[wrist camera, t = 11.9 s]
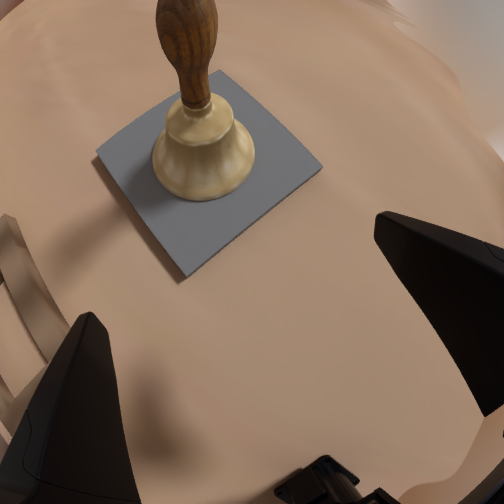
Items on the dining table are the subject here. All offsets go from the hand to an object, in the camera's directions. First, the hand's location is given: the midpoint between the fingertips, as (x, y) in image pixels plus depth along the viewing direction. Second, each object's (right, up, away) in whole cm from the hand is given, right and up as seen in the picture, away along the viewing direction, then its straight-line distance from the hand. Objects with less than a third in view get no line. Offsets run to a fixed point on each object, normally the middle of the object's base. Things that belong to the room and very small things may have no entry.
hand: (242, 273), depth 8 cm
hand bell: (-4, +8, +13) cm, 16 cm away
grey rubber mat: (-4, +8, +14) cm, 17 cm away
